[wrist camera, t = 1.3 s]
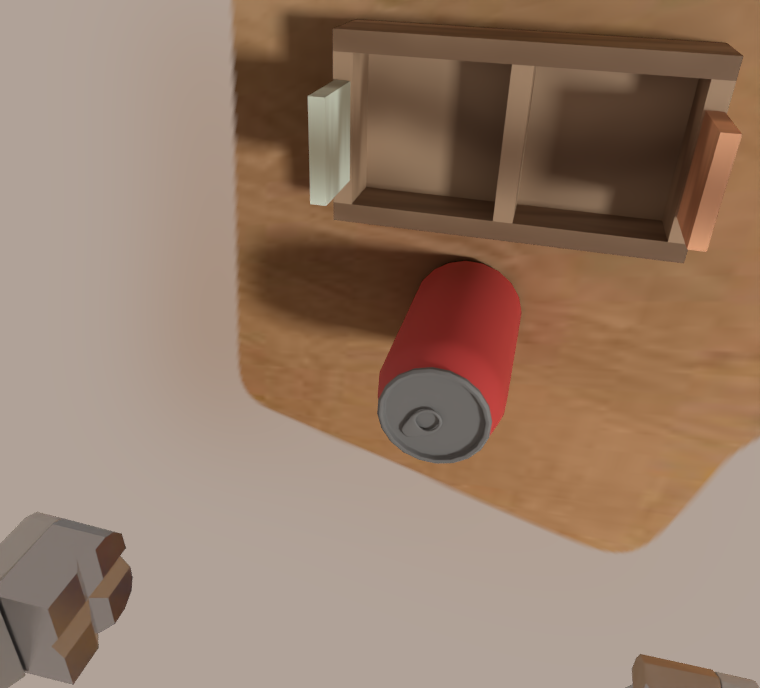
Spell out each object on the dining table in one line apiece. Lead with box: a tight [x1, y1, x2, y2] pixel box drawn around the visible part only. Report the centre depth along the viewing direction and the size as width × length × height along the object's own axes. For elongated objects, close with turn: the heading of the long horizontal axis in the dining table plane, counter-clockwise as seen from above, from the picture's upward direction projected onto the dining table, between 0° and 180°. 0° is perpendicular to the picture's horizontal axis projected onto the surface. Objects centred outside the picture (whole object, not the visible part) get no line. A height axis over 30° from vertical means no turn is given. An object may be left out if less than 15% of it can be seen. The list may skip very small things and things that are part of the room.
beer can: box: [377, 261, 521, 463], centre depth 38 cm, size 7×7×12 cm
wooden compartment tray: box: [308, 19, 743, 263], centre depth 33 cm, size 10×18×8 cm, turn 88°
